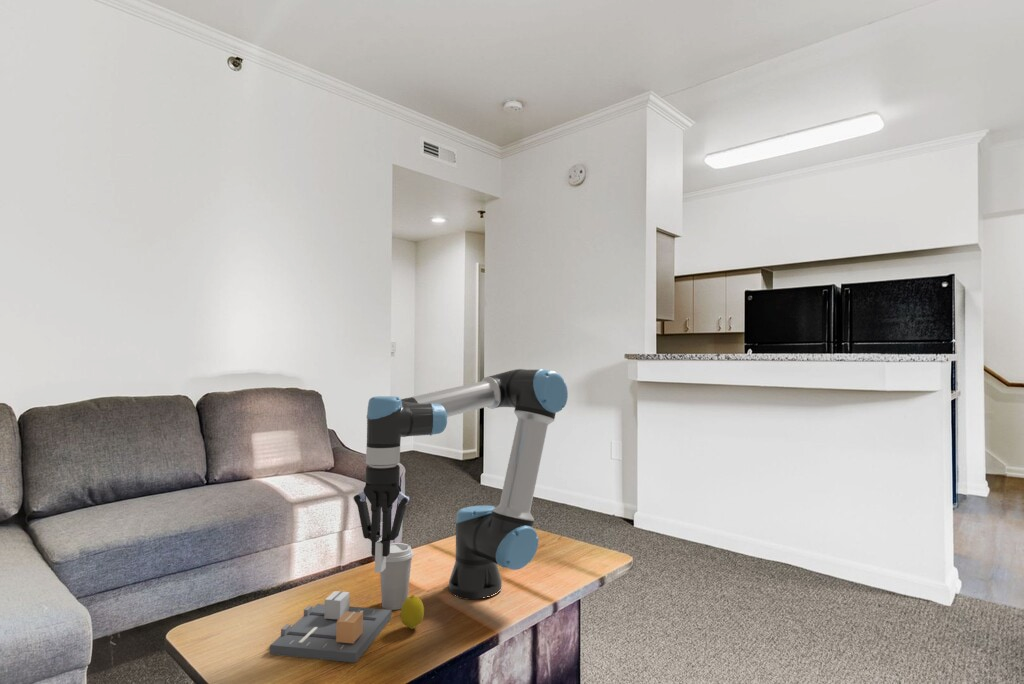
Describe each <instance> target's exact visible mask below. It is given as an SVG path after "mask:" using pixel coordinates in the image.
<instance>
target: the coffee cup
mask: <svg viewBox="0 0 1024 684" xmlns="http://www.w3.org/2000/svg"><path fill="white" fill-rule="evenodd" d="M414 555H415V554H414V550H413V549H412V546H411V545H410V544H408V543H404V542H403V543H402V542H392V543H390V553H389V555H388V556H387V557H386V568H385V569H384V570H383V571H382V572H381V573H379V577H380V578H379V579H380V580H379V581H380V595H381V607H382V609H385V610H392V611H397V610H401V608H402V605H403V603H404V601H405V600H406V599H407V598H409V597H408V596H409V587H410V578H411V577H410V576H411V569H412V561H413V560H412V558H413V557H414Z"/></svg>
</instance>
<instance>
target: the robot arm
mask: <svg viewBox="0 0 1024 684" xmlns="http://www.w3.org/2000/svg"><path fill="white" fill-rule="evenodd" d="M568 391H569V390H568V386H567V383H566V382H565V380H564V378H563V376H562V375H561V374H560V373H558V372H556V371H555V370H550V369H543V368H542V369H524V368H522V369H521V368H518V369H512V370H507V371H504V372H501V373H497V374H492V375H489V376H485V377H483V378H482V379H481V380H480V381H479V382H474V383H473V382H472V383H469V384H468V383H467V384H464V385H460V386H455V387H451V388H445V389H441V390H437V391H432V392H427V393H423V394H419V395H415V396H411V397H406V398H401V397H399V396H394V395H393V396H385V395H384V396H383V395H381V396H372V397H371V398H369V400H368V404H367V413H366V452H365V454H366V455H365V464H367V466H366V467H365V485H364V488H363V491H361V492H359V493H357V494H355V495H354V496H353V501H354V502H355V504H356V506H357V510H358V511H357V512H358V517H359V519H360V520H359V521H360V525H361V530H362V536H363V538H364V539H368V540H370V542H371V552H370V553H371V556H373V557H374V573H377V574H378V573H379V574H380V573H381V572H382V571H383V570H384V569H385V568H386V557H387V556H388V555H389V553H390V544H391V541H394V540H395V539H397V538H398V537H399V534H400V531H401V528H402V527H401V526H402V523H403V519H404V515H405V511H406V509H407V505H408V504H409V503H410V501H411V496H410V495H405V493H403V492H402V487H400V474H401V473H400V472H401V471H400V470H401V467H400V466H399V464H400V463H401V439H402V438H406V437H417V436H433V435H438V434H441V433H443V432H444V431H445V429H446V428H447V424H448V417H452V416H456V415H461V414H464V413H467V412H473V411H475V410H480V409H484V408H488V409H491V410H494V409H497V408H514V410H513V411H514V414H515V416H516V417H517V422H516V427H515V431H514V437H513V440H512V446H511V450H510V454H509V459H508V464H507V469H506V472H505V477H504V482H503V485H502V492H501V496H500V501H499V504H498V505H497V506H494V505H472V506H467V507H463V508H460V509H458V511H457V513H456V518H455V561H454V566H453V568H452V571H451V574H450V578H449V582H448V591H449V590H450V591H449V593H450V592H451V593H452V595H453V594H454V595H453V596H455V595H456V596H455V597H457V596H458V598H460V597H461V598H460V599H464V598H468V599H467V600H479V599H478V598H483V597H487V596H491V595H493V594H495V593H497V592H498V591H499V590H500V589H501V587H502V586H503V585H502V584H503V583H502V581H503V580H502V577H501V574H500V570H499V567H498V566H500V567H501V568H506V569H509V570H512V571H517V570H518V571H519V570H521V569H523V568H525V567H526V566H527V565H528V564H530V563H531V561H532V560H533V559H534V557H535V556H536V554H537V550H538V547H539V536H538V532H537V531H536V530H535V529H534V527H533V526H534V523H535V522H534V521H535V518H534V517H533V515H532V514H531V508H532V503H533V498H534V495H535V489H536V484H537V480H538V476H539V475H538V473H539V469H540V464H541V459H542V455H543V450H544V447H545V446H544V445H545V439H546V436H547V430H548V426H549V425H550V424H552V423H553V422H555V419H556V414H557V413H559V412H561V411H562V410H563V409H564V408H565V407H566V405H567V401H568V396H569V395H568ZM397 498H398V500H397ZM367 500H368V502H369V503H370V511H369V507H368V503H367ZM396 500H397V503H398V505H397V508H396V511H395V514H394V518H393V519H394V520H393V523H392V515H393V514H392V513H393V511H392V510H393V504H394V503H395V502H396ZM370 512H371V516H370ZM381 515H382V516H381ZM381 517H382V518H381ZM381 521H382V525H381ZM381 527H382V528H381ZM502 588H503V587H502ZM501 590H502V589H501ZM451 593H450V594H451Z"/></svg>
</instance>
